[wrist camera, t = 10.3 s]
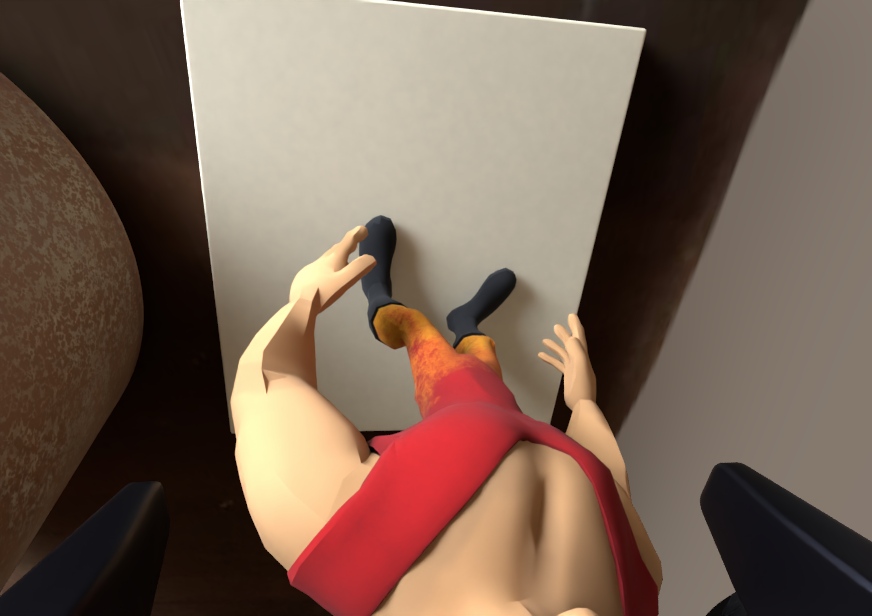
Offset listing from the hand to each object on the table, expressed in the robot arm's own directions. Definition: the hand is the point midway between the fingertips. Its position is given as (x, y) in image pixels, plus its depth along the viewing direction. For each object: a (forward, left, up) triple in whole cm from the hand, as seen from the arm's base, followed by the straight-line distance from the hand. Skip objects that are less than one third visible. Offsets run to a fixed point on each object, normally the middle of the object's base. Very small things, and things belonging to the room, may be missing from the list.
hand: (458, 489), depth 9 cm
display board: (0, 0, -10) cm, 10 cm away
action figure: (-1, +1, -10) cm, 10 cm away
